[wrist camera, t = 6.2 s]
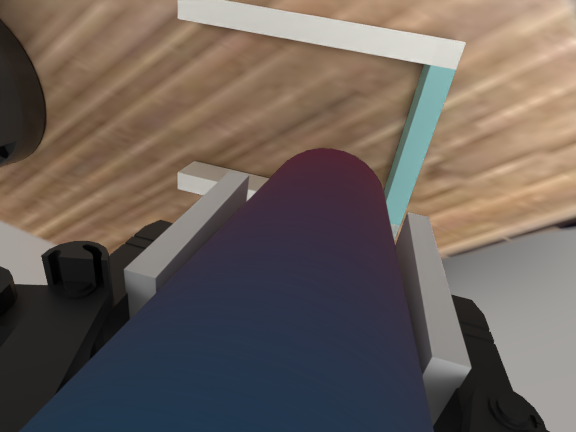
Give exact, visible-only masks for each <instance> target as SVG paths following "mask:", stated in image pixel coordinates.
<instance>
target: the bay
mask: <svg viewBox="0 0 576 432" xmlns="http://www.w3.org/2000/svg"><path fill="white" fill-rule="evenodd" d="M178 19H182V20H187V21H193V22H198V23H204V24H209V25H215V26H220V27H225V28H231V29H236V30H242V31H247V32H253V33H258V34H264V35H269V36H275V37H280V38H285V39H291V40H296V41H302V42H307V43H313V44H318V45H324V46H329V47H335V48H340V49H345V50H351V51H356V52H362V53H367V54H373V55H378V56H384V57H389V58H394V59H400V60H405V61H411V62H416V63H422V64H424V66H423V69H422V72H421V76H420V79H419V82H418V85H417V88H416V91H415V95H414V98H413V101H412V104H411V107H410V110H409V114H408V117H407V120H406V123H405V126H404V129H403V132H402V136H401V139H400V142H399V145H398V148H397V151H396V155H395V158H394V161H393V164H392V167H391V170H390V174H389V177H388V180H387V183H386V186H385V189H384V195H385V199H386V204H387V209H388V214H389V219H390V223H391V228H392V233H393V238H394V241H395V238H396V236H397V233H398V230H399V227H400V224H401V222H402V219H403V216H404V213H405V211H406V208H407V205H408V202H409V199H410V197H411V194H412V191H413V188H414V185H415V183H416V180H417V177H418V174H419V172H420V169H421V166H422V163H423V160H424V158H425V155H426V152H427V149H428V147H429V144H430V141H431V138H432V135H433V133H434V130H435V127H436V124H437V122H438V119H439V116H440V113H441V110H442V108H443V105H444V102H445V99H446V97H447V94H448V91H449V88H450V85H451V83H452V80H453V77H454V74H455V71H456V69H457V66H458V63H459V60H460V58H461V55H462V52H463V49H464V46H465V44H466V42H462V41H456V40H450V39H444V38H439V37H433V36H427V35H421V34H416V33H410V32H404V31H398V30H393V29H387V28H381V27H375V26H370V25H364V24H358V23H352V22H346V21H341V20H335V19H329V18H323V17H318V16H312V15H306V14H300V13H295V12H289V11H283V10H277V9H272V8H266V7H260V6H254V5H249V4H243V3H237V2H231V1H226V0H178ZM229 171H231V169H227V168H223V167H218V166H214V165H210V164H206V163H201V162H197V161H193V162H192V163H190V164H189V165H188V166H186V167H185V168H183V169H182V170H180V171H179V172H178V189H180V190H184V191H188V192H192V193H196V194H200V195H205V194H206V193H207V192H208V191H209V190H210V189H211V188H212V187H213V186H214V185H215V184H216V183H218V182H219V181H220V180H221V179H222V178H223V177H224V176H225V175H226V174H227V173H228V172H229ZM232 171H235V170H232ZM236 172H240V171H236ZM240 173H244V172H240ZM244 174H248V173H244ZM268 179H269V178H265V177H261V176H257V175H253V174H249V184H248V193H247V201H248V200H249V199H250V198H251V197H252V196H253V195H254V194H255V193H256V192H257V191H258V190H259V189H260V187H261V186H262V185H263V184H264V183H265V182H266V181H267V180H268Z"/></svg>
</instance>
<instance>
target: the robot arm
mask: <svg viewBox="0 0 576 432" xmlns="http://www.w3.org/2000/svg"><path fill="white" fill-rule="evenodd" d="M44 124H45V109H44V101H43V96H42V92H41V88H40V85H39V82H38V79H37V76H36V74H35V71H34V69H33V67H32V65H31V63H30V61H29V59H28V57H27V55H26V54H25V52H24V50H23V49H22V47H21V46H20V44H19V43H18V41H17V40H16V38H15V37H14V36H13V35H12V33H11V32H10V31H9V30H8V28H7V27H6V26H5V25H4V24H3V23H2V22H1V21H0V167H2V166H5V165H8V164H11V163H14V162H17V161H19V160H22V159H24V158H26V157H27V156H29V155H30V154H31V153H32V152H33V151H34V150H35V149H36V148H37V146H38V144H39V143H40V140H41V138H42V135H43V131H44ZM248 184H249V174H244V173H240V172H236V171H232V170H231V171H229V172H228V173H227V174H226V175H225V176H224V177H223V178H222V179H221V180H220V181H219V182H218V183H216V184H215V185H214V186H213V187H212V188H211V189H210V190H209V191H208V192H207V193H206V194H205V195H204V196H202V197H201V198H200V199H199V200H198V201H197V202H196V203H195V204H194V205H193V206H192V207H191V208H190V209H188V210H187V211H186V212H185V213H184V214H183V215H182V216H181V217H180V218H179V219H178V220H177V221H175V222H174V223H170V222H166V221H162V220H159V221H157V222H154V223H152V224H149V225H147V226H145V227H143V228H142V229H141V230H140V231H139V232H137V233H136V234H135V235H134V237H131V238H130V239H129V240H128V241H127V242H126V243H125V244H123V245H122V246H120V247H119V248H118V249H117V250H116V251H114V252H113V253H112V254H111V255H110V256H109V253H108V251H107V249H106V248H105V247H104V246H102V245H100V244H99V243H95V242H90V241H73V242H68V243H64V244H60V245H58V246H55V247H53V248H51V249H49V250H48V251H47V252H45V253H44V254H43V255H42V256H41V257H42V261H43V265H44V270H45V274H46V279H47V283H48V285H22V284H14V281H13V277H12V275H11V273H10V271H9V270H7V269H5V268H3V267H0V432H19V431H20V430H21V429H22V428H23V427H24V426H25V425H26V424H27V423H28V422H29V421H30V420H31V419H32V418H33V417H34V416H35V415H36V414H37V413H38V412H39V411H40V410H41V409H42V408H43V407H44V406H45V405H46V404H47V403H48V402H49V401H50V400H51V399H52V398H53V397H54V396H55V395H56V394H57V393H58V392H59V391H60V390H61V389H62V388H63V387H64V386H65V385H66V383H67V382H68V381H69V380H70V379H71V378H72V377H73V376H74V375H75V374H76V373H77V372H78V371H79V370H80V369H81V368H82V367H83V366H84V365H85V364H86V363H87V362H88V361H89V360H90V359H91V358H92V357H93V356H94V355H95V354H96V353H97V352H98V351H99V350H100V349H101V348H102V347H103V346H104V345H105V344H106V343H107V342H108V341H109V340H110V339H111V338H112V337H113V336H114V335H115V334H116V333H117V332H118V331H119V330H120V329H121V328H122V327H123V326H124V325H125V324H126V323H127V322H128V321H129V320H130V319H131V318H132V317H133V316H134V315H135V314H136V313H137V312H138V311H139V310H140V309H141V308H142V307H143V306H144V305H145V304H146V303H147V302H148V301H149V300H150V299H151V298H152V297H153V296H154V295H155V294H156V293H157V292H158V291H159V290H160V289H161V288H162V287H163V285H164V284H165V283H166V282H167V281H168V280H169V279H170V278H171V277H172V276H173V275H174V274H175V273H176V272H177V271H178V270H179V269H180V268H181V267H182V266H183V265H184V264H185V263H186V262H187V261H188V260H189V259H190V258H191V257H192V256H193V255H194V254H195V253H196V252H197V251H198V250H199V249H200V248H201V247H202V246H203V245H204V244H205V243H206V242H207V241H208V240H209V239H210V238H211V237H212V236H213V235H214V234H215V233H216V232H217V231H218V230H219V229H220V228H221V227H222V226H223V225H224V224H225V223H226V222H227V221H228V220H229V219H230V218H231V217H232V216H233V215H234V214H235V213H236V212H237V211H238V210H239V209H240V208H241V207H242V206H243V205H244V204H245V203H246V202H247V193H248ZM395 247H396V252H397V257H398V262H399V266H400V271H401V276H402V281H403V286H404V290H405V295H406V300H407V305H408V309H409V314H410V319H411V324H412V329H413V333H414V338H415V343H416V348H417V353H418V357H419V362H420V367H421V372H422V376H423V381H424V386H425V391H426V396H427V400H428V405H429V410H430V415H431V420H432V424H433V429H434V432H549V431H548V430H546V428H545V424H544V421H543V420H542V418H541V417H540V415H539V414H538V412H537V411H536V410H535V408H534V407H533V406H532V405H531V404H530V403H528V402H527V401H526V400H525V399H524V398H523V397H522V396H520V395H519V394H517V393H516V392H514V391H513V389H512V387H511V384H510V382H509V379H508V376H507V374H506V371H505V368H504V366H503V363H502V361H501V358H500V355H499V353H498V350H497V347H496V345H495V344H494V340H493V337H492V335H491V332H489V327H488V324H487V321H486V319H485V316H484V314H483V313H482V312H481V311H480V309H479V308H478V307H477V306H476V304H475V303H474V302H473V301H472V300H470V299H466V298H462V297H458V296H455V295H451V293H450V290H449V286H448V283H447V279H446V276H445V272H444V269H443V265H442V262H441V258H440V254H439V251H438V247H437V244H436V240H435V237H434V233H433V230H432V226H431V223H430V219H429V217H426V216H422V215H418V214H414V213H409V212H407V215H406V218H405V221H404V223H403V226H402V229H401V232H400V234H399V237H398V240H397V243H396V245H395Z"/></svg>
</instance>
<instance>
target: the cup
mask: <svg viewBox="0 0 576 432" xmlns="http://www.w3.org/2000/svg"><path fill="white" fill-rule="evenodd" d="M19 432H434V429H433V424H432V420H431V415H430V410H429V405H428V400H427V396H426V391H425V386H424V381H423V376H422V372H421V367H420V362H419V357H418V353H417V348H416V343H415V338H414V333H413V329H412V324H411V319H410V314H409V309H408V305H407V300H406V295H405V290H404V286H403V281H402V276H401V271H400V266H399V262H398V257H397V252H396V247H395V242H394V238H393V233H392V228H391V223H390V219H389V214H388V209H387V204H386V199H385V195H384V191H383V188H382V186H381V183H380V181H379V179H378V178H377V176H376V174H375V173H374V172H373V171H372V169H371V168H370V167H369V166H368V165H367V164H366V163H364V162H363V161H361V160H360V159H359V158H357V157H356V156H353V155H351V154H349V153H347V152H344V151H340V150H335V149H324V148H319V149H313V150H307V151H305V152H302V153H299V154H297V155H295V156H294V157H292V158H291V159H289V160H287V161H286V162H285V163H284V164H283V165H282V166H281V167H280V168H279V169H278V170H277V171H276V172H275V173H274V174H273V175H272V176H271V177H270V178H269V179H268V180H267V181H266V182H265V183H264V184H263V185H262V186H261V187H260V189H259V190H258V191H257V192H256V193H255V194H254V195H253V196H252V197H251V198H250V199H249V200H248V201H247V202H246V203H245V204H244V205H243V206H242V207H241V208H240V209H239V210H238V211H237V212H236V213H235V214H234V215H233V216H232V217H231V218H230V219H229V220H228V221H227V222H226V223H225V224H224V225H223V226H222V227H221V228H220V229H219V230H218V231H217V232H216V233H215V234H214V235H213V236H212V237H211V238H210V239H209V240H208V241H207V242H206V243H205V244H204V245H203V246H202V247H201V248H200V249H199V250H198V251H197V252H196V253H195V254H194V255H193V256H192V257H191V258H190V259H189V260H188V261H187V262H186V263H185V264H184V265H183V266H182V267H181V268H180V269H179V270H178V271H177V272H176V273H175V274H174V275H173V276H172V277H171V278H170V279H169V280H168V281H167V282H166V283H165V284H164V285H163V287H162V288H161V289H160V290H159V291H158V292H157V293H156V294H155V295H154V296H153V297H152V298H151V299H150V300H149V301H148V302H147V303H146V304H145V305H144V306H143V307H142V308H141V309H140V310H139V311H138V312H137V313H136V314H135V315H134V316H133V317H132V318H131V319H130V320H129V321H128V322H127V323H126V324H125V325H124V326H123V327H122V328H121V329H120V330H119V331H118V332H117V333H116V334H115V335H114V336H113V337H112V338H111V339H110V340H109V341H108V342H107V343H106V344H105V345H104V346H103V347H102V348H101V349H100V350H99V351H98V352H97V353H96V354H95V355H94V356H93V357H92V358H91V359H90V360H89V361H88V362H87V363H86V364H85V365H84V366H83V367H82V368H81V369H80V370H79V371H78V372H77V373H76V374H75V375H74V376H73V377H72V378H71V379H70V380H69V381H68V382H67V383H66V385H65V386H64V387H63V388H62V389H61V390H60V391H59V392H58V393H57V394H56V395H55V396H54V397H53V398H52V399H51V400H50V401H49V402H48V403H47V404H46V405H45V406H44V407H43V408H42V409H41V410H40V411H39V412H38V413H37V414H36V415H35V416H34V417H33V418H32V419H31V420H30V421H29V422H28V423H27V424H26V425H25V426H24V427H23V428H22V429H21V430H20V431H19Z"/></svg>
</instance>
